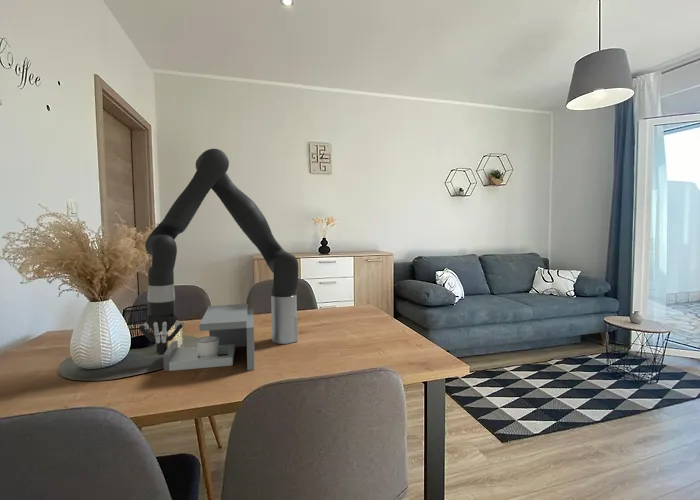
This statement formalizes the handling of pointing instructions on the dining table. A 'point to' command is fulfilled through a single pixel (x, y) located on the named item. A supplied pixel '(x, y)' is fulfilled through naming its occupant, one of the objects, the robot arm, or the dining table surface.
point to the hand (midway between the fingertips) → (162, 353)
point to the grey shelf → (231, 327)
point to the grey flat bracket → (195, 358)
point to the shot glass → (208, 346)
